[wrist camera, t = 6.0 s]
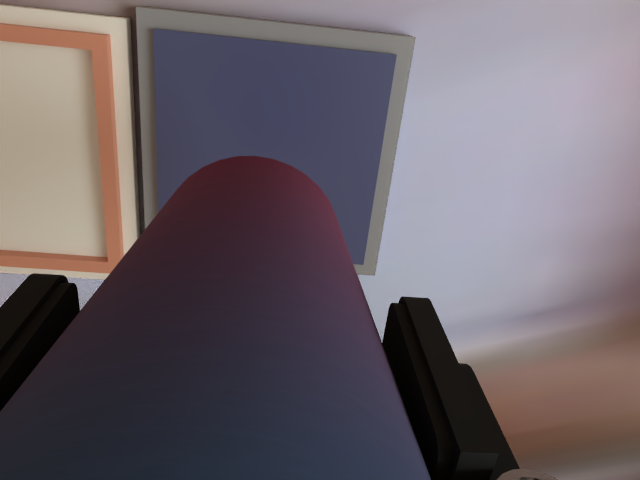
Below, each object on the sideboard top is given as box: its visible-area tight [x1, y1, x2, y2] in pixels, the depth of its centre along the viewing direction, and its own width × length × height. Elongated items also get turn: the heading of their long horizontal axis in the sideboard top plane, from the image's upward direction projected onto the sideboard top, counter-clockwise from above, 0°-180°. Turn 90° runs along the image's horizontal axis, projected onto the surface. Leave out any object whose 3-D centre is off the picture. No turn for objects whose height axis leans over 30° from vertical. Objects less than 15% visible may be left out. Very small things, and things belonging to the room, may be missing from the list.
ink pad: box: [136, 6, 415, 276], centre depth 23 cm, size 11×11×1 cm
